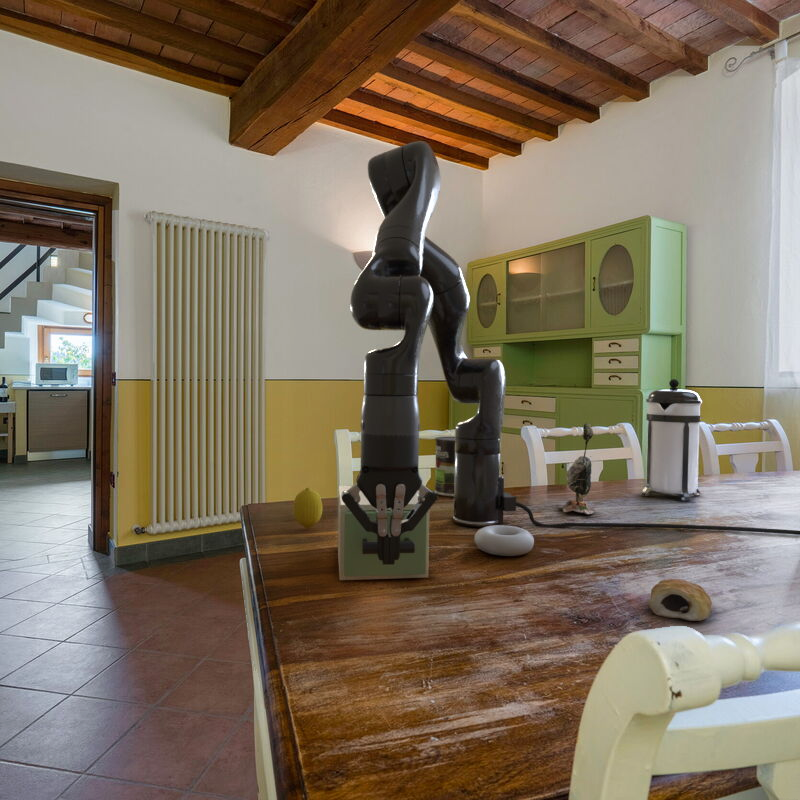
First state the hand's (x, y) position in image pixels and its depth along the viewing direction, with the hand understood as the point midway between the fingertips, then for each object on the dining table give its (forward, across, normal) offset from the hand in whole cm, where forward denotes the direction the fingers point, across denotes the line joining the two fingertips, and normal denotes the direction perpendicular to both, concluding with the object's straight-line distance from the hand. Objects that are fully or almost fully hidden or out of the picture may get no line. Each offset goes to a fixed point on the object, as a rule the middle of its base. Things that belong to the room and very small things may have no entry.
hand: (387, 562), depth 74 cm
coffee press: (+4, -80, -64) cm, 102 cm away
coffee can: (+4, -24, -69) cm, 74 cm away
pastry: (+5, -36, +7) cm, 37 cm away
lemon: (+5, +12, -36) cm, 38 cm away
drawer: (+4, 0, -11) cm, 12 cm away
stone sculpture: (+4, -48, -48) cm, 67 cm away
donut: (+5, -22, -20) cm, 30 cm away
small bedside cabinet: (+5, 0, -15) cm, 16 cm away
